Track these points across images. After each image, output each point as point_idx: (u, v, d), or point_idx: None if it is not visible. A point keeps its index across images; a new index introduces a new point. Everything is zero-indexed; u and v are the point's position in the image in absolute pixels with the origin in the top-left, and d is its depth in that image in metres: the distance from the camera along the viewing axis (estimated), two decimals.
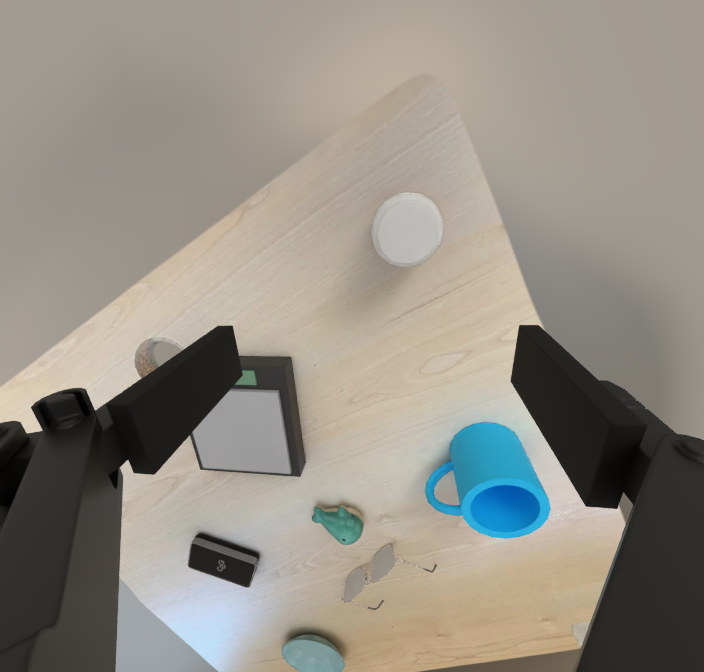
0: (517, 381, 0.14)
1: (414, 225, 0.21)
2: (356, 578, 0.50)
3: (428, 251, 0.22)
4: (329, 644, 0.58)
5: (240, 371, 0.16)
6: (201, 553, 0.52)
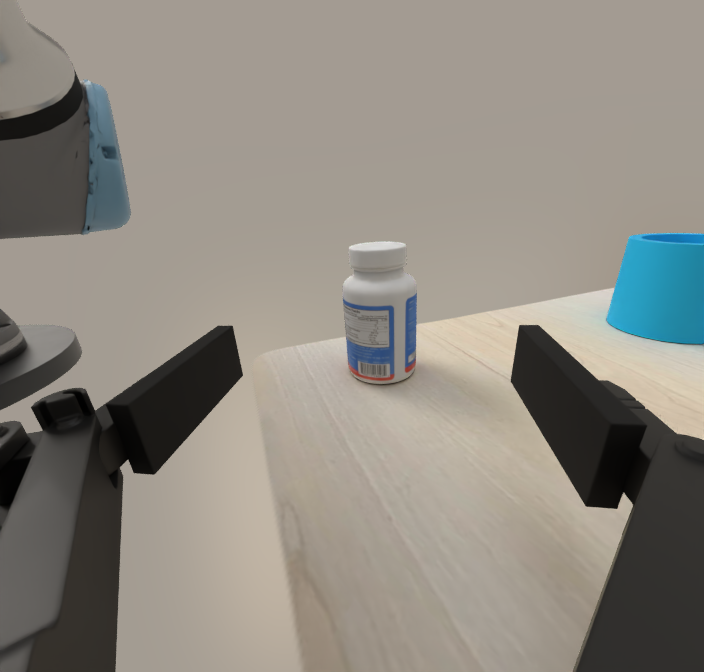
0: (517, 381, 0.14)
1: (370, 245, 0.23)
2: None
3: None
4: None
5: (240, 371, 0.16)
6: None
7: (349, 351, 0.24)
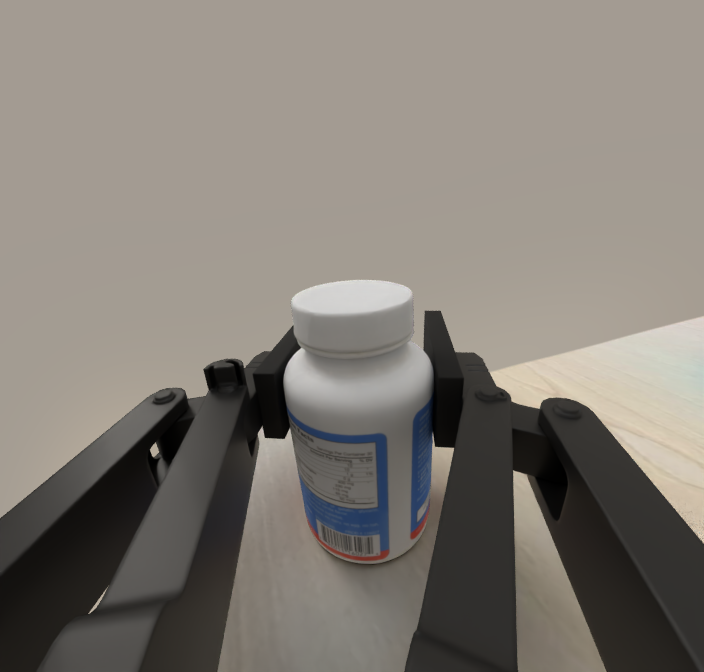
0: None
1: (339, 290, 0.11)
2: None
3: (389, 282, 0.12)
4: None
5: None
6: None
7: (302, 491, 0.13)
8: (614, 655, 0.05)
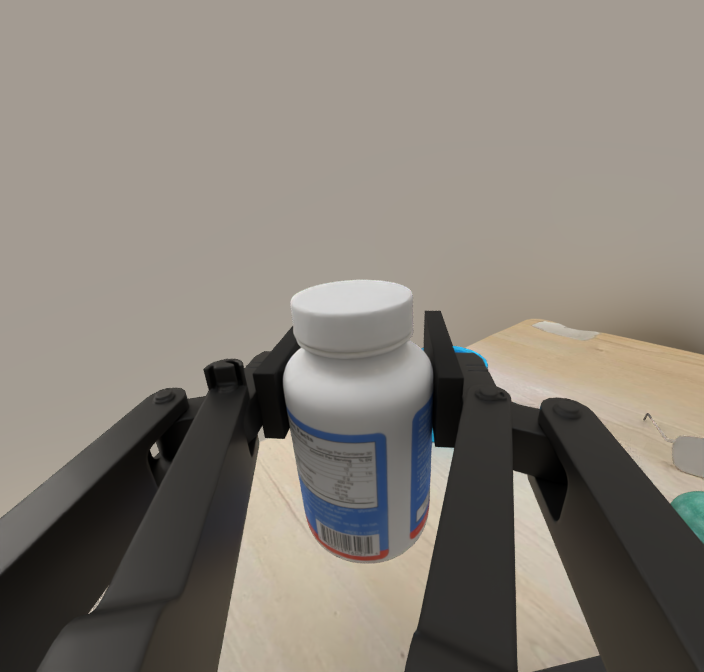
0: None
1: (338, 290, 0.11)
2: None
3: (388, 282, 0.12)
4: None
5: None
6: None
7: (301, 491, 0.13)
8: (614, 654, 0.05)
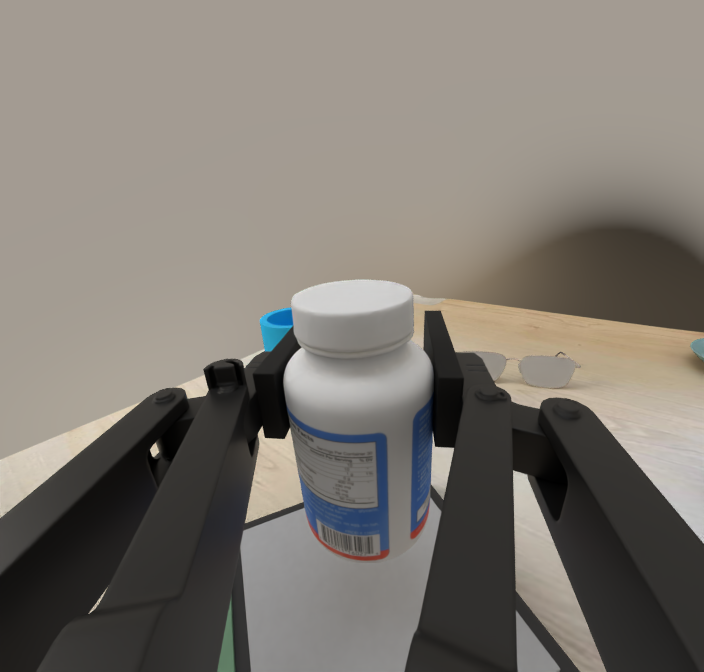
0: None
1: (338, 290, 0.11)
2: (540, 375, 0.38)
3: None
4: (701, 359, 0.39)
5: None
6: None
7: (302, 491, 0.13)
8: (614, 655, 0.05)
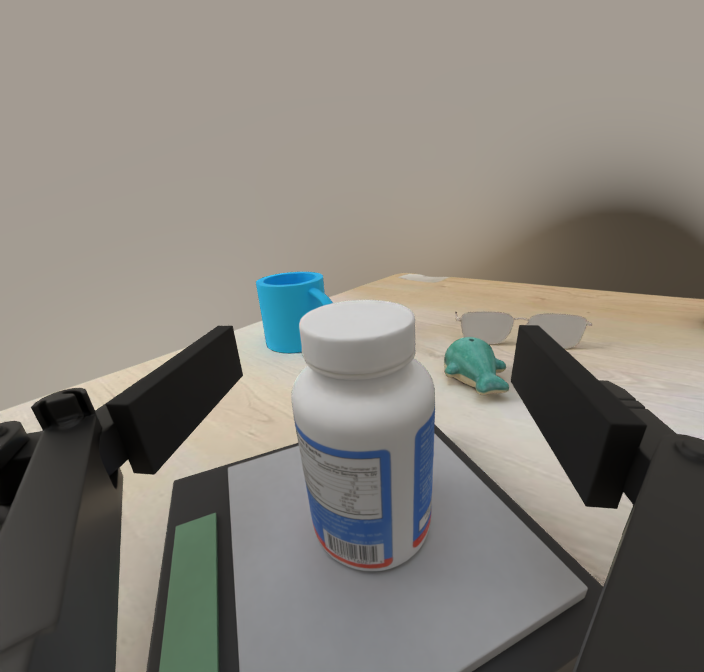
0: (517, 381, 0.14)
1: (344, 311, 0.12)
2: None
3: (391, 302, 0.12)
4: None
5: (240, 371, 0.16)
6: None
7: (309, 501, 0.13)
8: None
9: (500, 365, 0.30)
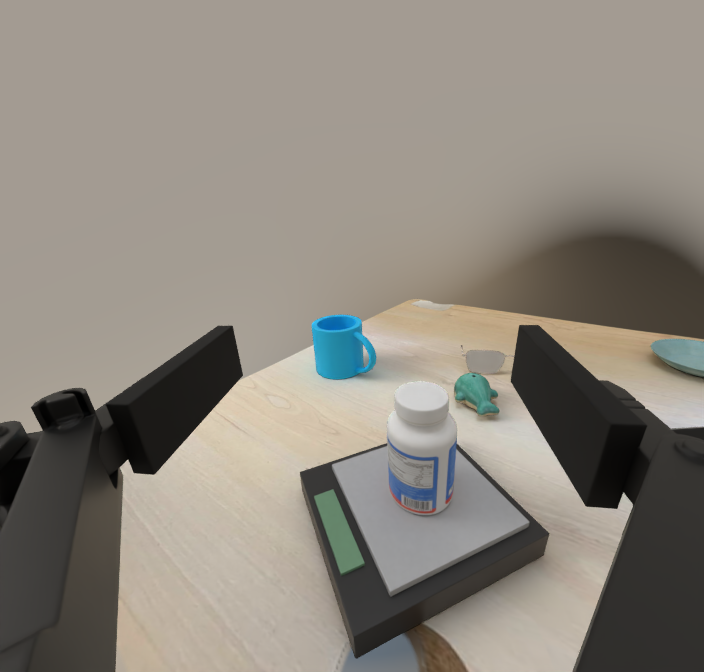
0: (517, 381, 0.14)
1: (414, 390, 0.25)
2: None
3: (435, 384, 0.25)
4: None
5: (240, 371, 0.16)
6: None
7: (392, 481, 0.26)
8: None
9: (494, 394, 0.43)
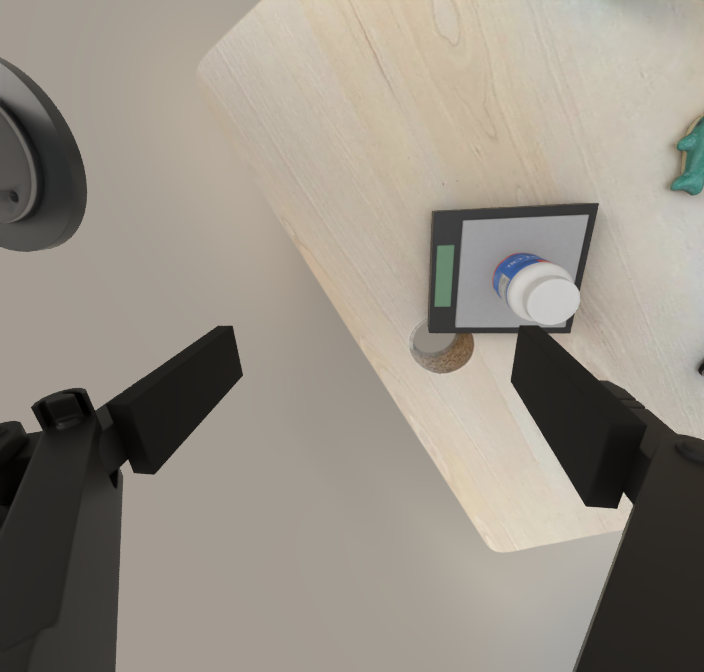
0: (517, 381, 0.14)
1: (552, 294, 0.26)
2: None
3: (578, 294, 0.26)
4: None
5: (240, 371, 0.16)
6: None
7: (496, 282, 0.34)
8: None
9: None
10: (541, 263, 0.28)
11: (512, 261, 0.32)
